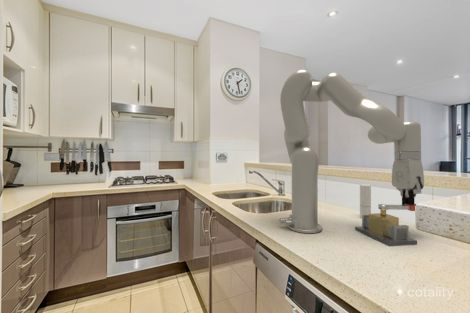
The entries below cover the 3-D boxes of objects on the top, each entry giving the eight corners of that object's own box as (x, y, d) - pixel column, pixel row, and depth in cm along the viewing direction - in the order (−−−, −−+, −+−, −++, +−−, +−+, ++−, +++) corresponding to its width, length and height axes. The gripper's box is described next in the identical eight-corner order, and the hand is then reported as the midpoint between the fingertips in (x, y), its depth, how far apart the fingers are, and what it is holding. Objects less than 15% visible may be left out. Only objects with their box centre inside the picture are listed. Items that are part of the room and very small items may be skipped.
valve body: (388, 246, 66) (388, 216, 66) (355, 230, 81) (355, 205, 81) (417, 244, 68) (417, 214, 68) (379, 228, 82) (378, 204, 82)
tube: (365, 219, 95) (365, 185, 95) (357, 217, 99) (357, 184, 99) (373, 219, 96) (373, 185, 96) (365, 216, 100) (365, 184, 100)
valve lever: (381, 210, 73) (381, 205, 73) (376, 208, 76) (376, 203, 76) (424, 211, 72) (424, 205, 72) (417, 209, 75) (417, 203, 75)
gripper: (383, 157, 85) (384, 203, 85) (411, 156, 70) (412, 213, 70) (403, 157, 84) (404, 204, 84) (436, 156, 70) (437, 213, 69)
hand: (408, 208), depth 77 cm, fingers closed
